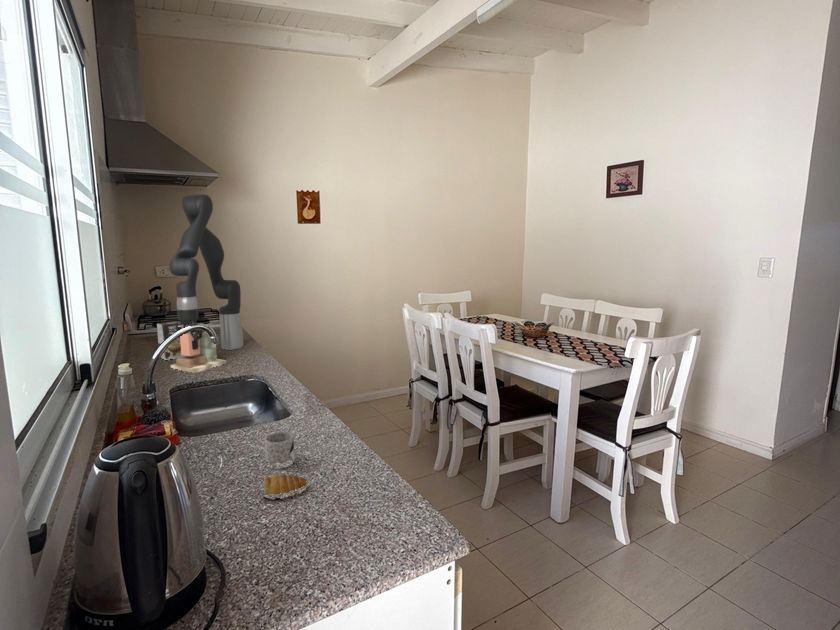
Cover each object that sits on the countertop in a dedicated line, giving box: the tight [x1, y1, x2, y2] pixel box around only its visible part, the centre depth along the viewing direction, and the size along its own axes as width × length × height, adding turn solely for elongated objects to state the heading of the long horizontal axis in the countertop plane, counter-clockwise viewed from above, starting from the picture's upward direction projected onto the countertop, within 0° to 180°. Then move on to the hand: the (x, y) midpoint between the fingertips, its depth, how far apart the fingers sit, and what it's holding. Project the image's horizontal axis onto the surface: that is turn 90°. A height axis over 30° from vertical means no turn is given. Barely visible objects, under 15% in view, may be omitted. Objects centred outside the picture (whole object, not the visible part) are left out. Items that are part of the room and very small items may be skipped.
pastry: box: [263, 473, 308, 495], centre depth 103 cm, size 9×7×4 cm
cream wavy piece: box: [170, 331, 227, 374], centre depth 201 cm, size 16×14×14 cm
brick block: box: [180, 331, 200, 356], centre depth 197 cm, size 5×5×9 cm
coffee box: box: [156, 320, 185, 361], centre depth 214 cm, size 9×6×16 cm
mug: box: [264, 431, 295, 463], centre depth 118 cm, size 10×7×7 cm
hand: (190, 348), depth 197 cm, fingers closed on brick block, 5 cm apart
